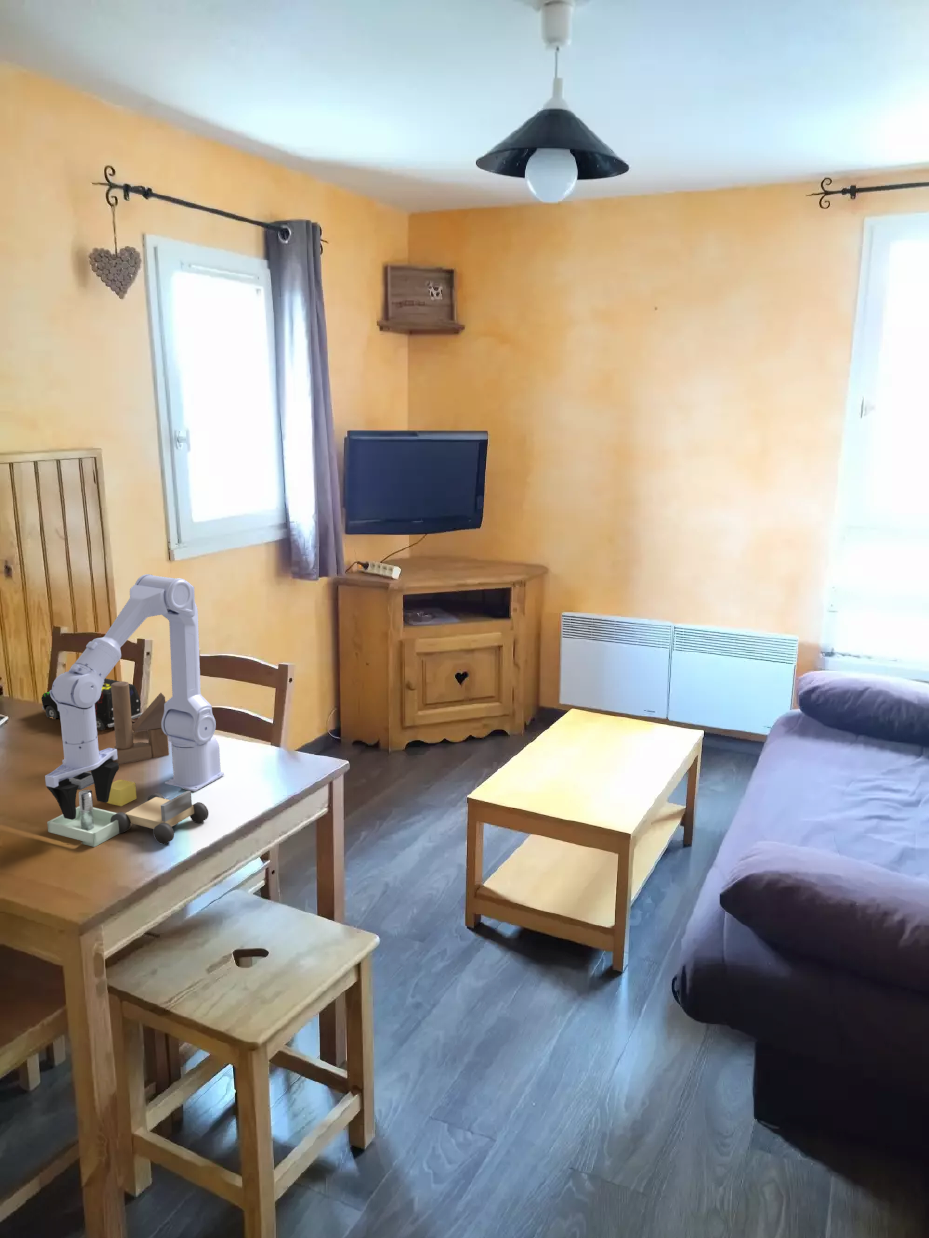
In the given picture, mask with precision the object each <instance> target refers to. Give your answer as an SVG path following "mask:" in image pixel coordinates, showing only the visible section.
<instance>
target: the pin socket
mask: <svg viewBox="0 0 929 1238" xmlns="http://www.w3.org/2000/svg"><path fill="white" fill-rule="evenodd" d="M69 781H71V784H76V785H78V789H77V790H79V791H82V790H85V789H86V788H88V787H90V786H92V785H94V780H93V777H92V774H91V771H87V772H84V773H81V774H79V775H77V776H75V777H73V778H70V779H69Z"/></svg>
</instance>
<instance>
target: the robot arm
mask: <svg viewBox="0 0 929 1238" xmlns="http://www.w3.org/2000/svg"><path fill="white" fill-rule="evenodd" d="M198 610H199V609H198V606H197V604H196V597H195V586H193V585H192V584H191V583H190V582H189V581H187V580H186V579H184V578H179V577H178V578H175V577H174V578H173V577H166V576H161V575H160V576H158V575H153V574H149V573H148V574H147V573H145V574H142V575H141V576H140V577H138V578H137V580H136V581H135V583H134V585H132V586H131V588H130V589H129V599H128V601H127V602H126V603H125V605H124V606H123V608H122V609H121V611H120V612H119V614H118V615H117V616H116V618H115V620H114V621H113V623H112V624H111V626H110V627H109V629H108V630H107V632H106V633H105V635H103V637H97V638H94V639H93V640H91V641H89V642H88V643H87V644H86V646H85V647H86V648H85V649H84V651H83V652H82V653H81V654H80V656H78V658H77V660H76V661H75V662H74V663H73V664H71V666H70V669H69V670H68V671H65V672H62V673H60V674H59V675H58V676H56V678H55V679H54V681H53V683H52V686H51V689H50V690H49V692H50V696H51V698H52V699H53V700H54V701H55V702H56V704H57V708H58V711H59V712H60V715H59V719H60V726H61V728H60V729H61V738H62V748H63V758H64V759H63V758H62V761H61V762H62V764H61V765H59V766H58V767H57V768H55V769H54V770H52V771H51V772H49V773H48V774H46V775H45V774H44V777H45V778H44V781H45V786H46V788H47V790H48V791H49V792H50V793H51V794H52V796H53V797H54V798H55V800H56V802H57V804H58V806H59V809H60V810H61V812H62V814H63V816H64V818H67V819H71V820H73V819H75V818H76V808H77V807H76V806H77V805H76V804H77V802H76V801H77V799H76V798H77V793H78V790H79V789H78V785H76V784H71V781H69V779H70V778H73V777H75V776H77V775H79V774H81V773H84V772H87V771H88V772H91V774H92V777H93V780H94V784H93V785H94V791H95V797H96V800H97V802H100V803H105V804H108V803H107V802H108V800H109V795H110V790H111V786H112V783H113V782H114V779H115V777H116V774H117V772H118V770H119V769H120V767H119V765H120V764H118V763H117V762H116V759H118V757H117V749H114V747H113V748H112V747H107V748H104V749H102V750H100V749H99V740H98V739H99V738H98V729H97V726H96V715H95V703H96V702H97V701H98V700H99V698H100V696H101V690H102V686H103V684H104V679H105V678H106V679H107V677H108V675H109V674H110V673H111V672H112V670H113V669H114V668H115V666H116V665H117V663H118V662H119V661H120V660H121V659H122V651H121V647H122V646H124V644H125V643H126V642H127V641H128V640H129V639H130V637H132V635H133V634H134V633H135V632H136V631H137V630H138V628H140V626H142V624H143V622H145V620H146V619H147V618H150V617H155V616H163V617H164V618H165V619H166V620H168V622H169V623H168V624H169V644H170V645H169V648H170V669H171V670H170V673H171V674H170V675H171V695H172V696H171V697H170V698H169V699H168V700H166V701H167V702H166V701H165V702H166V703H165V704H164V715H163V718H162V722H161V726H162V730H163V732H164V733H165V734H166V735H167V736H168V742H170V744H171V746H170V747H171V756H172V757H171V758H172V759H171V761H172V770H173V771H172V772H173V778H170V779H168V780H166V781H165V782H164V784H166V785H169V786H175V787H179V788H180V789H182V790H184V791H185V790H186V791H191V792H196V791H198V790H200V789H201V788H203V787H205V786H207V785H210V784H211V783H212V782H215V781H216V780H218V779H220V778H223V776H224V775H225V773H224V772H222V771H221V754H220V745H219V742H218V740H217V738H216V737H215V736H214V735H215V732H216V728H217V725H216V723H217V722H216V719H215V717H214V715H213V708H212V707H213V706H212V705H211V703H210V702H209V701H208V700H207V699H206V698H205V697H204V696H203V695H202V693H201V689H202V688H201V669H200V667H201V666H200V665H201V664H200V641H199V640H200V639H199V638H200V636H199V635H200V633H199V611H198Z"/></svg>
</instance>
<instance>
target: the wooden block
mask: <svg viewBox="0 0 929 1238" xmlns="http://www.w3.org/2000/svg"><path fill="white" fill-rule="evenodd" d="M119 681H120V680H119ZM129 684H130V683H129V682H128V681H125V680H123V681H120V682H115V683H112V684H111V692H112V704H113V716H114V726H113V728H114V736H115V737H114V739H115V746H113V749H117V757H118V759H116V760H115V762H116V763H118V764H119V765H124V764H129V763H135V762H139V761H146V760H150V759H156V758H162V757H167V756H169V755H170V750H169V747H170V746H169V738H168V736H167V735H166V734H165V733H164V732H163V730H162V726H161V722H162V718H163V715H164V704H165V702H166V696H165V695H164V694H163V692H160V693H159V694H158V695H157V696H156V697H155V699H153V701H152V702H151V703H150V705H148V707H147V708H146V709H145V710H144V711H143V712H142V715H141V716H140V717H138V718H136V720H135V722H134V723H133V722H132V720H133V719H132V718H131V706H130V693H129ZM145 731H147V740H148V742H146V741H145V742H143V741H137V742H136V741H135V742H134V734H133V733H138V732H145Z"/></svg>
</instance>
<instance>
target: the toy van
mask: <svg viewBox="0 0 929 1238" xmlns="http://www.w3.org/2000/svg"><path fill="white" fill-rule="evenodd" d="M115 682H120V680H115V679H111V678H107V677H106V678H105V679H104V684H103V686H102V690H101V696H100V698H99V700H98V701H97V702H96V703H95V715H96V726H97V731H98V730H99V731H105V730H106V728H107V727H108V728H114V716H113V704H112V692H111V684H112V683H115ZM129 693H130V706H131V718H132V720H134V719H138V718H139V717H140V716H141V715H142V713H143V712H142V710H141V708H142V707H141V705H142V701H141V697H140V696H139V693H138V690H137V687H136V686H135V685H134V684H131V683H129ZM41 703H42V706H41V708H42V710H43V711H45V716H46V717H47V718H48V717H53V718H55V719H54V720H57V719H56V718H58V719H60V712H59V711H58V708H57V704H56V702H55V701H54V700H53V699H52V698H51V696H50V691H47V692H44V693H43V694H42V695H41Z"/></svg>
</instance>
